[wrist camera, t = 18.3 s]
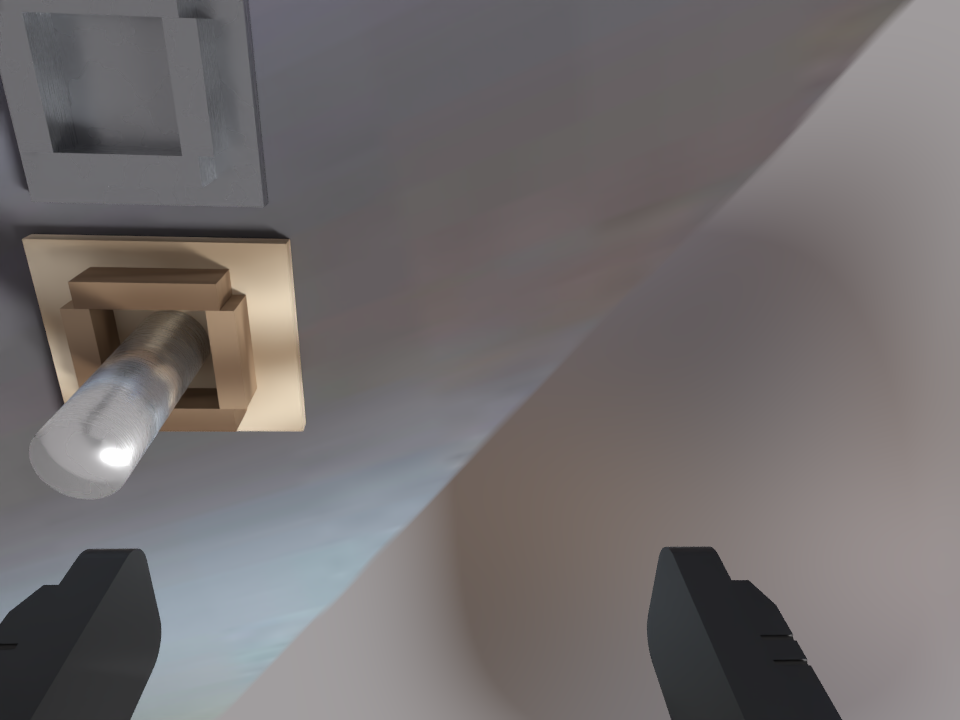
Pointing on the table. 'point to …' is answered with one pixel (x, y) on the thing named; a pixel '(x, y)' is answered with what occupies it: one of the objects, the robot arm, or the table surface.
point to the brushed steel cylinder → (120, 408)
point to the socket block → (134, 101)
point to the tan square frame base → (186, 288)
